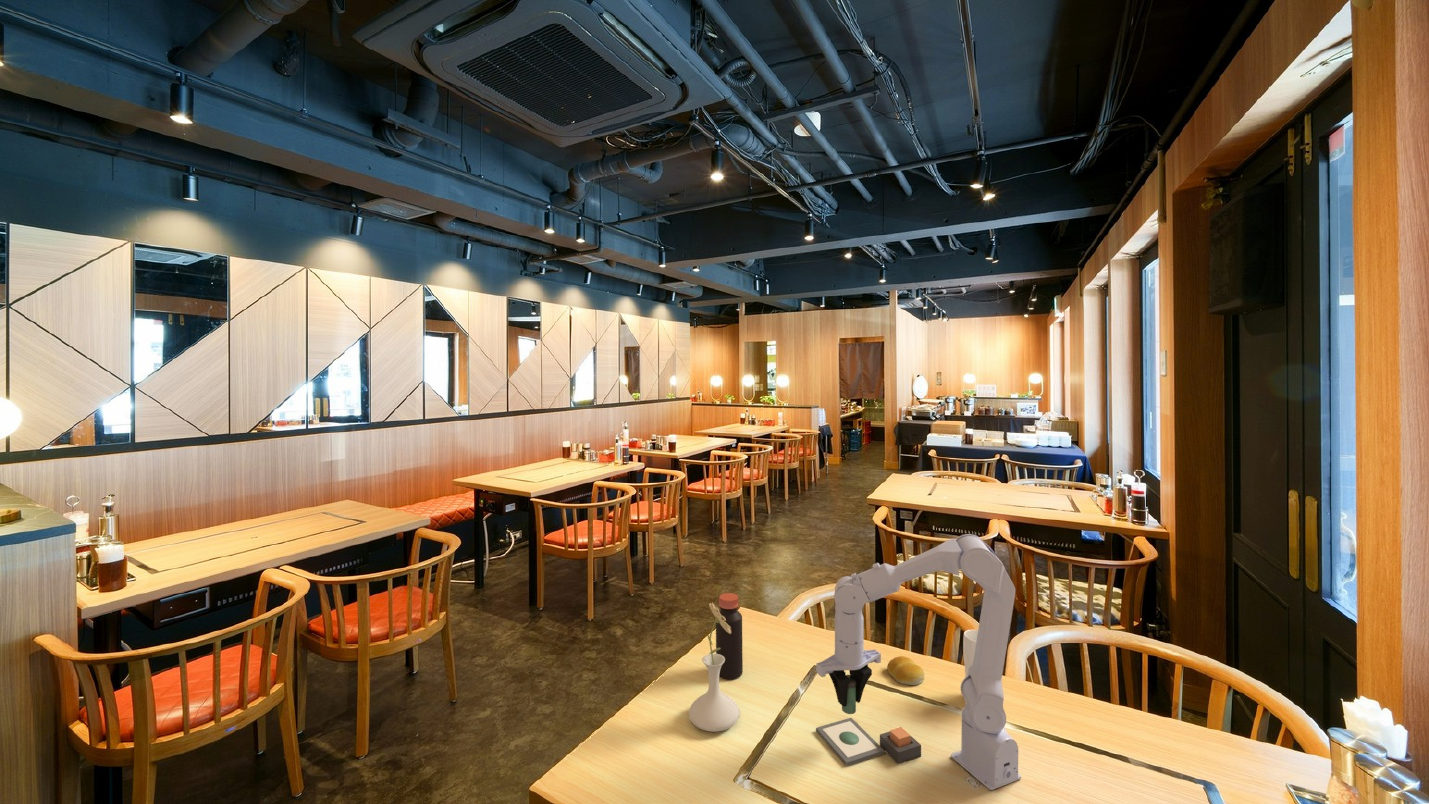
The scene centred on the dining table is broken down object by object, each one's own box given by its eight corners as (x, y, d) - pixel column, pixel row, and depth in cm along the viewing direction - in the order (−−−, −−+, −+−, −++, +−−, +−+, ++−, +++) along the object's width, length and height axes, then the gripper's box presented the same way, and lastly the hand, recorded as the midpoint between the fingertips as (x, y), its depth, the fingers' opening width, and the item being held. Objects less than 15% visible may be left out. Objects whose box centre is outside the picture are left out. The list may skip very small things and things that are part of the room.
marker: (859, 712, 107) (859, 681, 107) (847, 715, 106) (847, 684, 106) (850, 704, 110) (850, 673, 110) (838, 707, 109) (838, 676, 109)
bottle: (712, 678, 132) (712, 600, 131) (720, 664, 139) (719, 590, 138) (739, 682, 130) (738, 603, 129) (745, 668, 137) (744, 593, 136)
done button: (910, 744, 105) (910, 735, 105) (899, 748, 104) (899, 739, 104) (900, 735, 107) (900, 727, 107) (889, 739, 106) (889, 730, 106)
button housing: (921, 756, 104) (921, 745, 104) (898, 764, 102) (898, 752, 102) (901, 738, 109) (901, 727, 109) (879, 745, 107) (879, 734, 107)
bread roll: (903, 689, 127) (903, 673, 127) (882, 669, 136) (882, 654, 136) (932, 683, 129) (932, 668, 129) (909, 664, 138) (909, 650, 138)
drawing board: (884, 754, 105) (884, 749, 105) (846, 766, 102) (846, 762, 102) (851, 721, 115) (851, 716, 115) (815, 731, 112) (815, 727, 112)
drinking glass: (987, 690, 126) (988, 629, 125) (1000, 708, 119) (1001, 643, 118) (958, 689, 126) (959, 628, 126) (969, 706, 120) (969, 642, 119)
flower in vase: (741, 737, 110) (740, 621, 109) (687, 738, 110) (685, 622, 109) (738, 699, 123) (737, 595, 122) (690, 700, 123) (688, 596, 122)
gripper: (866, 622, 114) (865, 683, 114) (808, 635, 109) (808, 699, 109) (887, 637, 107) (887, 702, 108) (827, 651, 102) (827, 719, 103)
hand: (849, 701), depth 108 cm, fingers closed on marker, 3 cm apart
